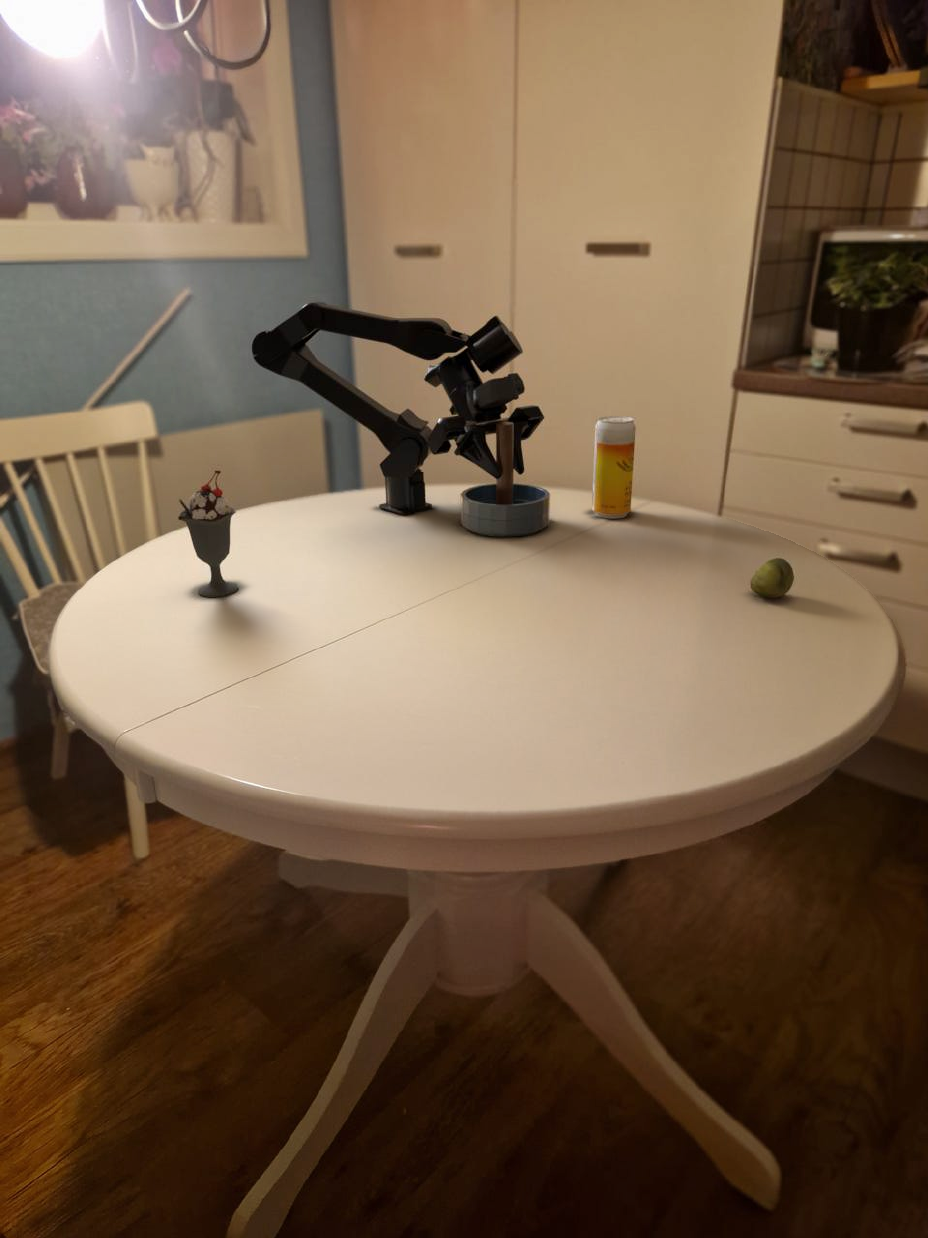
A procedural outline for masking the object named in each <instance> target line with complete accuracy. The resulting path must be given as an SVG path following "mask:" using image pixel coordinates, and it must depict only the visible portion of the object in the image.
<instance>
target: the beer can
mask: <svg viewBox="0 0 928 1238" xmlns="http://www.w3.org/2000/svg"><path fill="white" fill-rule="evenodd" d="M636 428H637V427H636V424H635V422H634V418H633V417H629V416H624V415H623V416H622V415H607V416H600V417H599V418H598V421H597V422H596V424H595V426H594V447H593V448H594V452H593V453H594V454H593V473H592V475H593V476H592V477H593V478H592V497H591V499H592V500H591V510H592V512H593V513H594V515H595V516H596V517H599V518H603V519H623V518H625V517H627V516H628V514H629V512H631V511H632V509H631V508H632V494H633V478H634V477H633V476H634V461H635V444H636V430H637V429H636Z"/></svg>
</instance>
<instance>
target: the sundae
mask: <svg viewBox="0 0 928 1238" xmlns="http://www.w3.org/2000/svg"><path fill="white" fill-rule="evenodd" d="M221 473H222V471H221V470H215V471H214V474H213V475H212V477H211V479H210V480H209V481H208V482H207V483H206V484H203V485H201V487H200V489H199V490H197V491H194V493H193V494H192V496H191V497H190V498H189V504H188V505H189V507H188V506H187V504H185V502H184V501H183V500H182V499H181V498H179V499H178V501H179V503H180V505H181V506H182V507H183V509H184V510H182V511H181V512H180V513H179V516H178V518H177V519H178V520H179V521H182V522H184V523H185V524H186V527H187V530H188V532H189V535H190V538H191V542H192V546H193V549H194V552H195V554H196V557H197V558H198V559H199V560H200V561H202V562H203V563H205V564H206V565H208V566H209V569H210V581H209V583H207V584H204V585H202V586H201V587H200V588H198V590H197V593H198V594H199V595H200V596H202V597H206V598H219V597H224V596H229V595H232V594H233V593H235V592H237V591H238V589H239V585H238V584H237V583H234V582H229V581H225V579H224V578H223V576H222V575H223V574H222V572H221V571H222V570H221V564H222V563H223V562H224V561H225V560H226V559H227V557H228V555H230V549H231V523H232V517H233V515H235V514H236V513H237V511H236V509H234V508H233V507H232V506H231V505H230V503H229V501H228V500H227V499H226V498H225V497H223V490H222V489H220V488H219V487H218V486H219V485H218V483H217V482H218V481H217V480H218V479H217V478H218V477H219V475H220V474H221ZM215 475H216V476H215ZM214 478H215V481H214V483H215V488H214V489H213V490H212V487H211V485H210V483H211V482H212V481H213V479H214Z"/></svg>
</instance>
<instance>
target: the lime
mask: <svg viewBox="0 0 928 1238" xmlns="http://www.w3.org/2000/svg"><path fill="white" fill-rule="evenodd" d="M794 580H795V575H794V569H793V567H792V565H791V564H790V562H788V561H787V560H786V559H783V558H781V557H776V558H772V559H769V560H767V561H766V562H765V563H764V564H763V565H761V566H759V568H758V569H757V570H756V571H755V572H754V574H753V575H752V578H751V580H750V589H751V591H752V592H753V593H755V594H756V595H758V596H760V597H762V598H765V599H774V598H779V597H782V596H784V595H786V594H787V593H788V592H789V591H790V590H791V589H792V587H793V584H794Z"/></svg>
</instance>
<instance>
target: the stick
mask: <svg viewBox="0 0 928 1238" xmlns="http://www.w3.org/2000/svg"><path fill="white" fill-rule="evenodd" d="M495 460H496V462H497V464H498V466H499V469H500V472H501V477H500V478H499V479H496V478H495V484H496V504H503V505H508V504H513V483H514V468H513V465H514V423H512V422H498V423H496V434H495Z"/></svg>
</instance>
